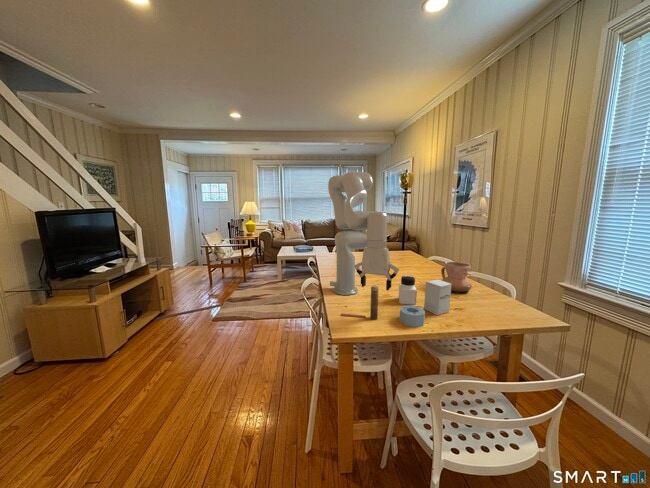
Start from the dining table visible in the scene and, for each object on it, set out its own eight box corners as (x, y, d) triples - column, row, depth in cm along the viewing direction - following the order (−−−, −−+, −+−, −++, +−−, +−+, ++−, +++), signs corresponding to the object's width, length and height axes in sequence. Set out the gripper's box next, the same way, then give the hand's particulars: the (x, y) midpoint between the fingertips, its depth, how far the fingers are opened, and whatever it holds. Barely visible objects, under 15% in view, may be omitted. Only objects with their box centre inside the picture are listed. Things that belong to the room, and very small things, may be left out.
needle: (369, 318, 101) (370, 287, 99) (371, 316, 103) (372, 285, 101) (376, 320, 100) (377, 288, 98) (378, 317, 102) (379, 286, 100)
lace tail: (341, 315, 104) (341, 314, 104) (341, 314, 105) (341, 313, 105) (365, 317, 102) (365, 316, 102) (365, 316, 103) (365, 315, 103)
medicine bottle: (416, 305, 115) (417, 279, 113) (399, 303, 116) (400, 278, 114) (413, 299, 121) (415, 275, 120) (398, 298, 123) (399, 274, 121)
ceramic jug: (480, 293, 129) (482, 265, 127) (458, 296, 124) (460, 268, 122) (451, 283, 146) (453, 259, 144) (431, 286, 141) (433, 261, 139)
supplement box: (437, 315, 104) (440, 286, 102) (423, 309, 110) (425, 281, 108) (449, 312, 107) (452, 283, 105) (435, 306, 113) (437, 278, 111)
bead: (398, 323, 97) (398, 312, 96) (402, 314, 105) (402, 304, 104) (422, 328, 93) (423, 316, 92) (424, 318, 101) (425, 308, 100)
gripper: (351, 244, 97) (351, 287, 99) (397, 247, 89) (396, 293, 92) (358, 242, 104) (357, 282, 106) (401, 244, 96) (400, 288, 98)
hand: (375, 287), depth 99 cm, fingers open, 9 cm apart
